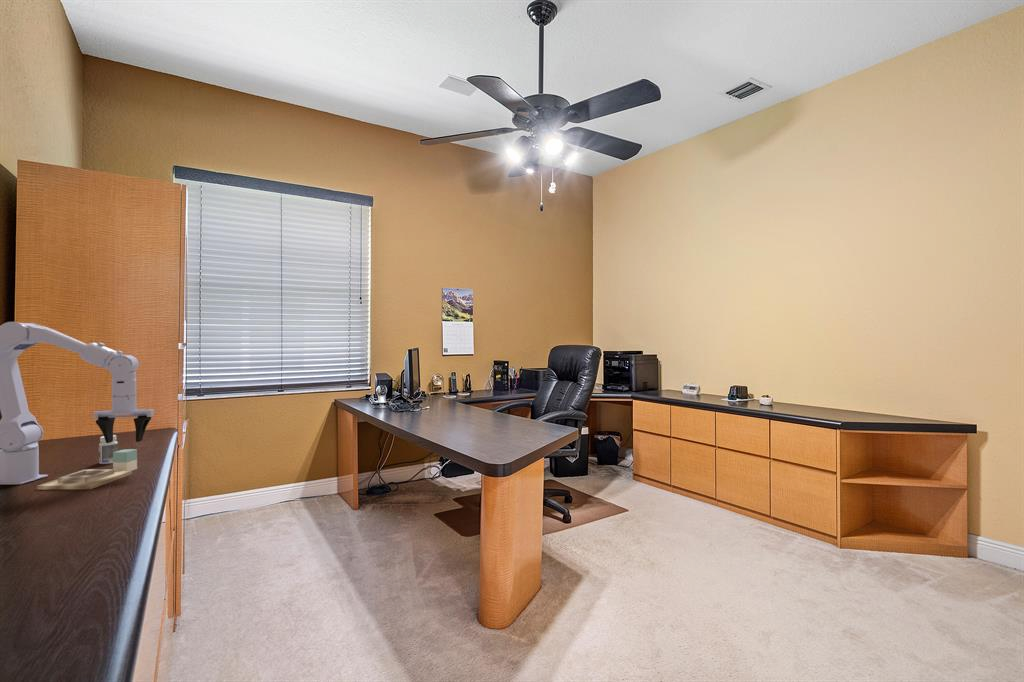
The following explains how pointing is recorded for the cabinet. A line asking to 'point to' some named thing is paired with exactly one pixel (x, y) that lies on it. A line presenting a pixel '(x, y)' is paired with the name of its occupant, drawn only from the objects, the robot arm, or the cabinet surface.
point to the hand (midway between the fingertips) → (124, 441)
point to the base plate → (85, 479)
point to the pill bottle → (107, 450)
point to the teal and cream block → (125, 460)
